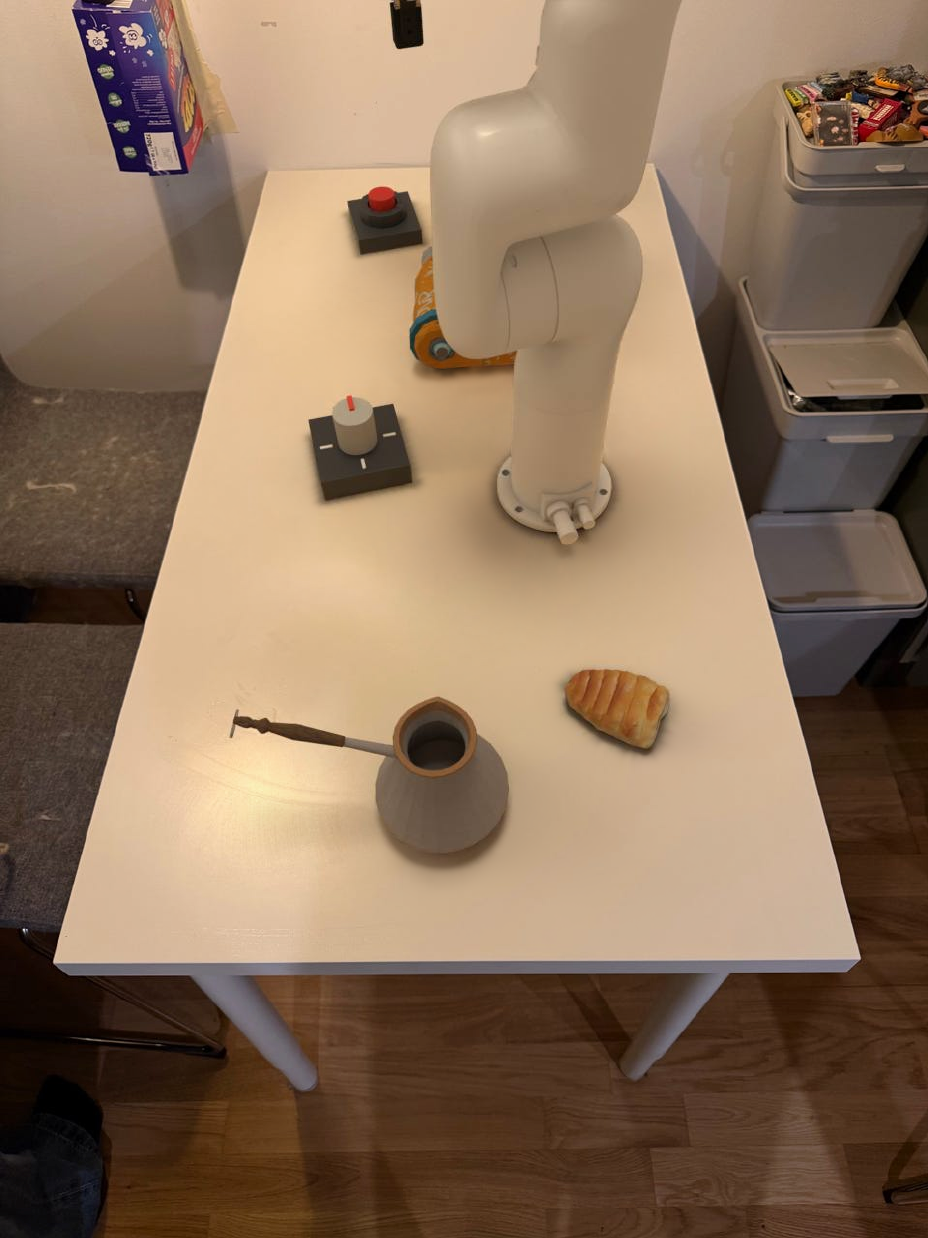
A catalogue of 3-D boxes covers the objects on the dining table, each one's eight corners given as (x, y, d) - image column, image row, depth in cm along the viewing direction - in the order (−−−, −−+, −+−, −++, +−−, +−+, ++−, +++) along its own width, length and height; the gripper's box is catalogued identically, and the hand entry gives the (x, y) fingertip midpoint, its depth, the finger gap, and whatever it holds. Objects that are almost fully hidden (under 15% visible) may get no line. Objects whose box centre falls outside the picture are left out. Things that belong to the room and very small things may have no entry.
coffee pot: (510, 741, 77) (513, 659, 64) (506, 866, 71) (509, 802, 58) (281, 733, 78) (239, 650, 66) (258, 855, 72) (207, 790, 59)
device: (401, 213, 109) (630, 197, 109) (406, 270, 116) (622, 255, 116) (406, 326, 97) (665, 307, 97) (412, 382, 104) (653, 364, 104)
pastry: (553, 720, 78) (556, 701, 75) (577, 662, 81) (581, 642, 78) (651, 756, 76) (658, 738, 73) (672, 695, 79) (679, 675, 76)
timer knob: (380, 451, 93) (375, 419, 89) (341, 458, 93) (334, 426, 89) (374, 423, 96) (368, 391, 92) (335, 431, 95) (328, 398, 91)
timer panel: (412, 483, 95) (410, 463, 92) (325, 500, 94) (320, 481, 91) (395, 422, 100) (393, 402, 97) (312, 438, 99) (307, 418, 96)
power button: (397, 210, 118) (396, 198, 116) (372, 214, 117) (370, 202, 116) (392, 196, 119) (391, 184, 118) (367, 200, 119) (366, 188, 118)
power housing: (422, 243, 119) (420, 217, 116) (360, 254, 118) (356, 227, 115) (409, 205, 124) (406, 178, 121) (349, 214, 124) (345, 188, 120)
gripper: (340, -193, 83) (364, 20, 98) (366, -144, 75) (388, 80, 90) (414, -202, 83) (427, 11, 99) (448, -154, 75) (456, 70, 91)
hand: (408, 43), depth 94 cm, fingers closed
